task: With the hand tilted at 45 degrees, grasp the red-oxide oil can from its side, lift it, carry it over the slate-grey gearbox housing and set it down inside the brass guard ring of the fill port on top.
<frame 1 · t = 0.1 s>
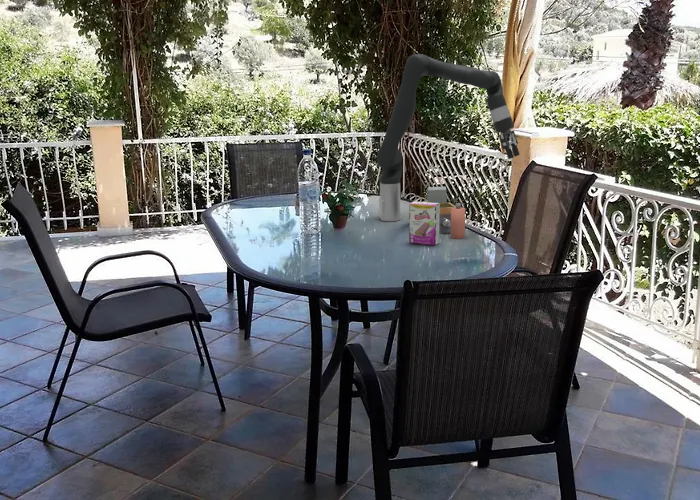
hand: (514, 157, 265), 31 cm above the table, tool tilted 20°, fingers open, 8 cm apart
gearbox: (440, 229, 281), on the table
candy bar box: (424, 244, 259), on the table
skincare box: (437, 222, 294), on the table
oil can: (457, 237, 267), on the table
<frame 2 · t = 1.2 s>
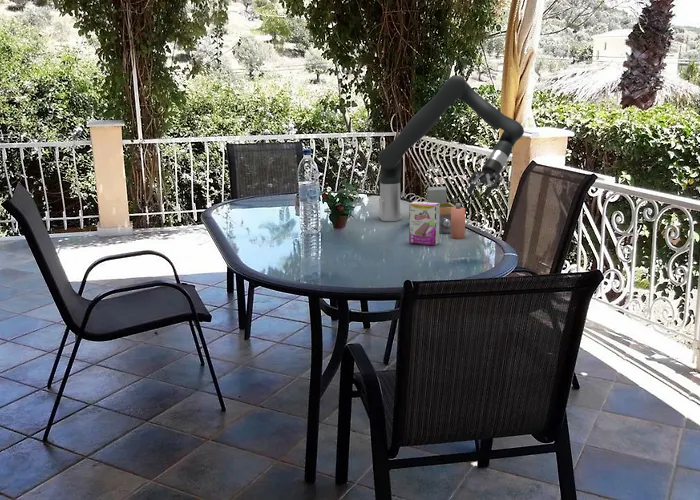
hand: (476, 194, 270), 16 cm above the table, tool tilted 45°, fingers open, 8 cm apart
nothing on the table moved.
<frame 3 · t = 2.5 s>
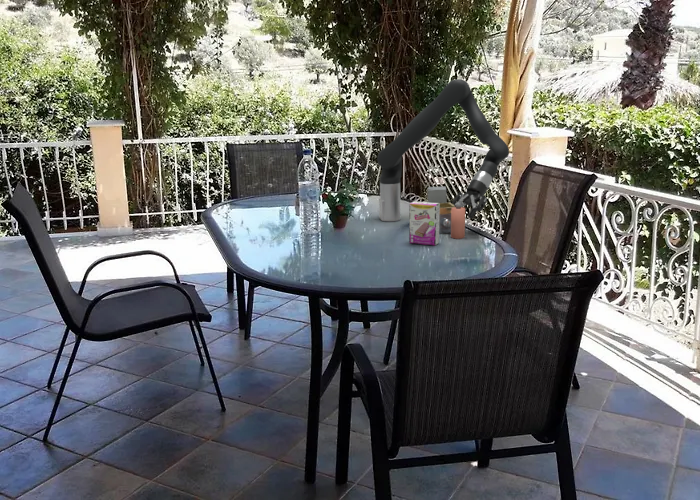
hand: (461, 215, 266), 9 cm above the table, tool tilted 45°, fingers open, 8 cm apart
nothing on the table moved.
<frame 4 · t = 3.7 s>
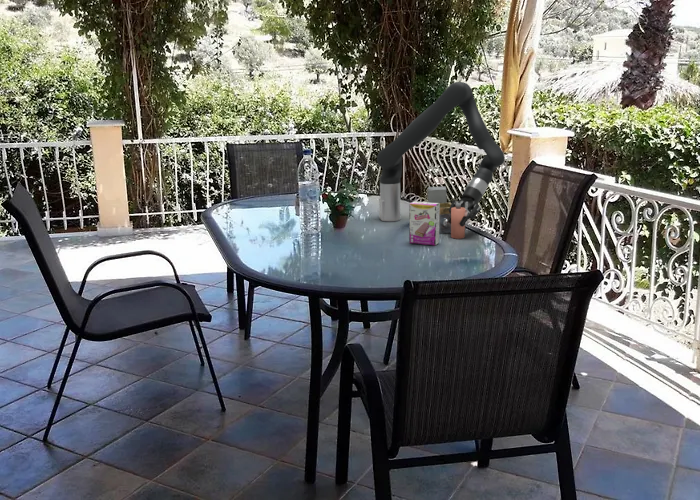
hand: (455, 224, 264), 6 cm above the table, tool tilted 45°, fingers closed on oil can, 5 cm apart
oil can: (457, 237, 267), on the table, touching gripper
everything else where it was.
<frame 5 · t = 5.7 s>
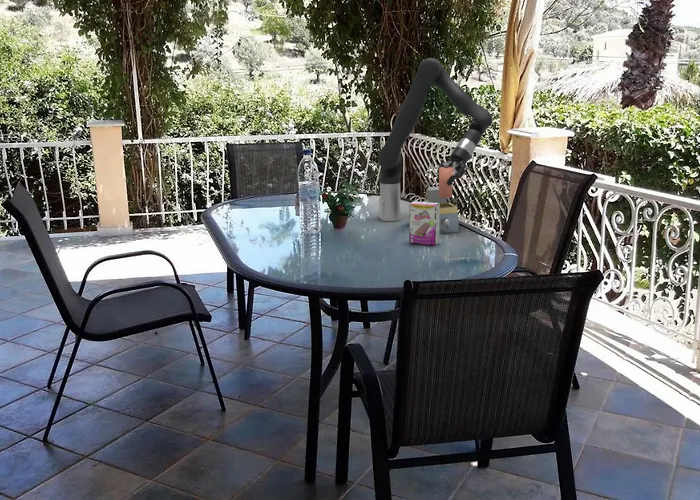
hand: (442, 183, 269), 21 cm above the table, tool tilted 45°, fingers closed on oil can, 5 cm apart
oil can: (445, 196, 272), point 15 cm above the table, touching gripper
everything else where it was.
when the fingers open (16 cm above the table, at t = 7.8 s): oil can drops 2 cm, resting on gearbox.
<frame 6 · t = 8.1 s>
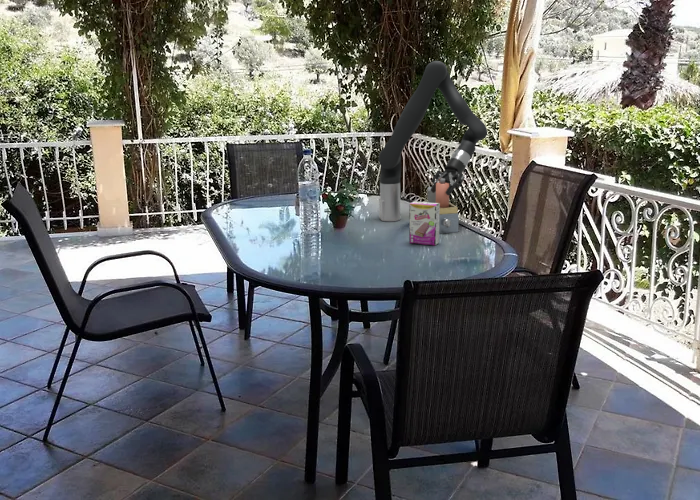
hand: (439, 192, 275), 16 cm above the table, tool tilted 45°, fingers open, 8 cm apart
oil can: (442, 211, 278), point 8 cm above the table, touching gearbox
everything else where it was.
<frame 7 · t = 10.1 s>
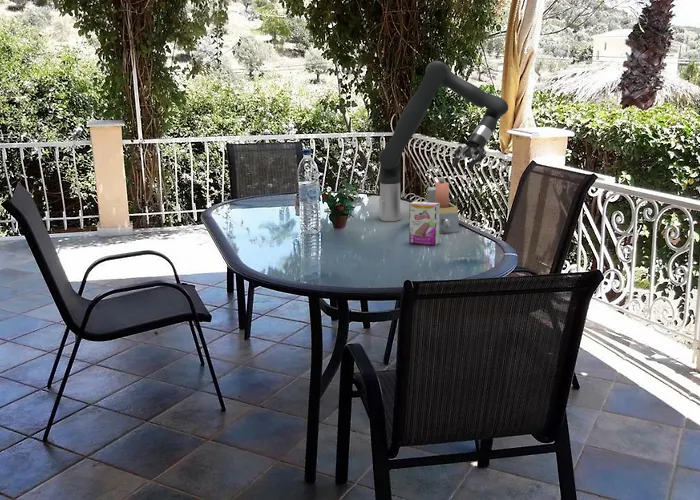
hand: (461, 167, 276), 26 cm above the table, tool tilted 45°, fingers open, 8 cm apart
nothing on the table moved.
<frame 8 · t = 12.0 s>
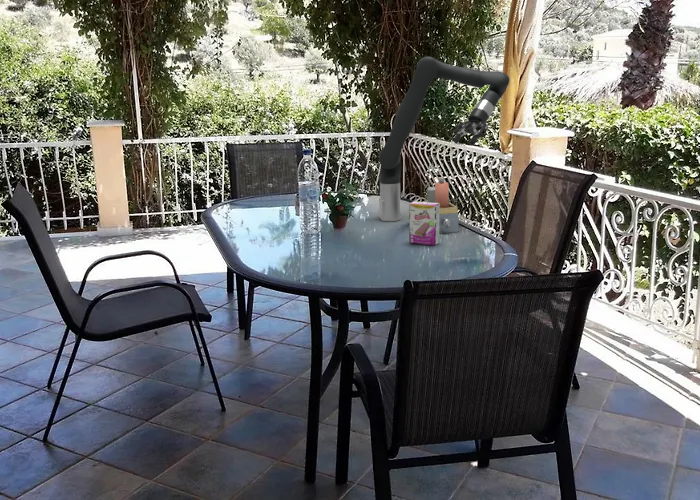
hand: (462, 143, 270), 37 cm above the table, tool tilted 45°, fingers open, 8 cm apart
nothing on the table moved.
at the end: oil can inside the target area on the gearbox (0.2 cm from its centre), point 8.1 cm above the gearbox's base; oil can tilted 2°; the gripper is holding nothing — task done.
